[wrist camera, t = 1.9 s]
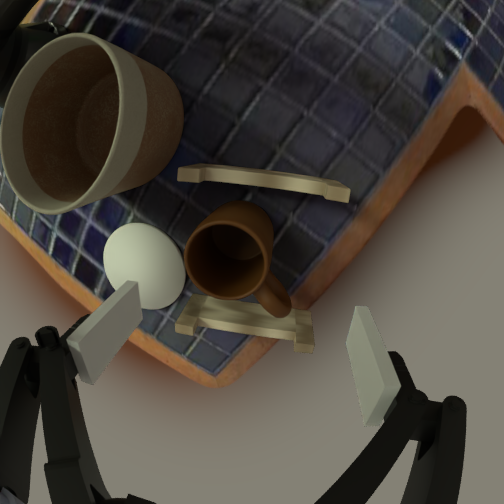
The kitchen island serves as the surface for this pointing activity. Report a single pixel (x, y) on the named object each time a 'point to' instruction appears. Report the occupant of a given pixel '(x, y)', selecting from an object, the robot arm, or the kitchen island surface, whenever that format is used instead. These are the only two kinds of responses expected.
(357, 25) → the kitchen island surface
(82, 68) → the planter
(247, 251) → the mug
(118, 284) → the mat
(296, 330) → the rack
